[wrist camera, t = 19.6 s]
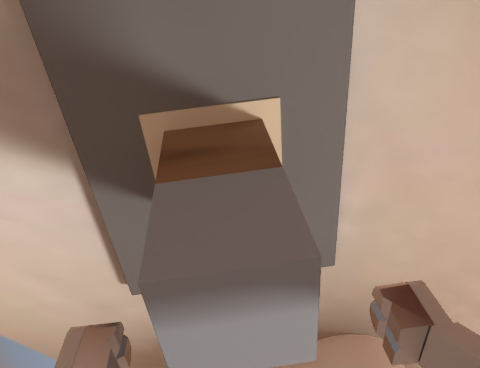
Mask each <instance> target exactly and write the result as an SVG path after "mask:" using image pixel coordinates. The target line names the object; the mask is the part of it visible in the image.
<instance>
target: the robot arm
mask: <svg viewBox="0 0 480 368" xmlns="http://www.w3.org/2000/svg"><path fill="white" fill-rule="evenodd" d="M372 296H373V298H374V299H375V300H374V301H373V302H372V303H371V304H370V317H371V321H372V324H373V327H374V329H375V331H376V333H377V334H378V335H380V336H381V337H382V338H384V340H383V345H382V346H383V348H384V350H385V352H386V354H387V357H388V359H389V361H390V363H391V365H392V366H393V365H402V364H411V363H419V365H421V366H422V367H423V368H480V335H478V334H476V333H475V332H473V331H471V330H470V329H468V328H466V327H465V326H463V325H461V324H460V323H458V322H456V323H453V322H452V321H451V319H450V318H449V316H448V315H447V314H446V312H445V311H444V309H443V308H442V307H441V305H440V304H439V302H438V301H437V300H436V298H435V297H434V295H433V294H432V293H431V291H430V290H429V288H428V287H427V286H426V284H425V283H424V282H423V281H421V280H420V281H412V282H406V283H404V282H402V283H396V284H389V285H383V286H376V287H374V289H373V292H372ZM123 331H124V327H123V325H122V323H121V322H116V323H107V324H98V325H88V326H80V327H73V328H70V330H69V331H68V333H67V335H66V337H65V340H64V343H63V346H62V348H61V351H60V354H59V357H58V359H57V362H56V365H55V368H129V367H130V361H131V347H130V342H129V339H128V337H127V336H125V335H123Z"/></svg>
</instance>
